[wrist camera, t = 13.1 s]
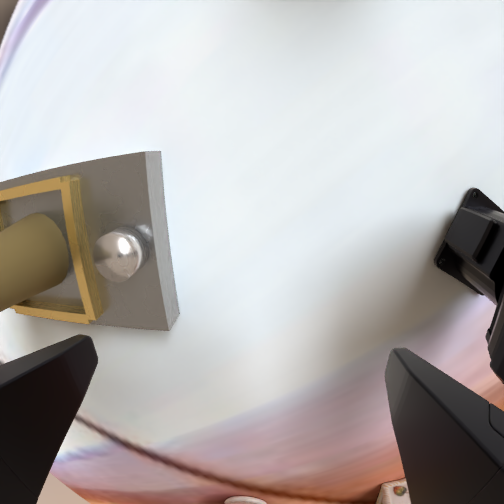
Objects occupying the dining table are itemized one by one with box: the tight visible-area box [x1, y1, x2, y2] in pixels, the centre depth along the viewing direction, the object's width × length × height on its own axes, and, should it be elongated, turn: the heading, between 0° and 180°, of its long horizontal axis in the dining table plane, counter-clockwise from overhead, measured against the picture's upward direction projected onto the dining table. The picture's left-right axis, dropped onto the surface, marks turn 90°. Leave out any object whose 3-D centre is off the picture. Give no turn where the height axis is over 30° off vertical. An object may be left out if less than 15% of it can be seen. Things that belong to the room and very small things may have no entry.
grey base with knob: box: [0, 151, 180, 331], centre depth 20 cm, size 16×12×4 cm
